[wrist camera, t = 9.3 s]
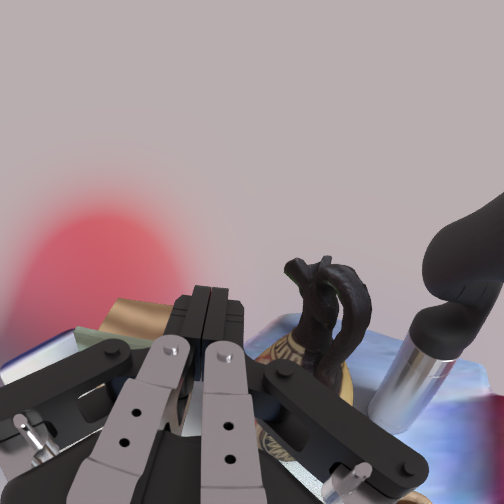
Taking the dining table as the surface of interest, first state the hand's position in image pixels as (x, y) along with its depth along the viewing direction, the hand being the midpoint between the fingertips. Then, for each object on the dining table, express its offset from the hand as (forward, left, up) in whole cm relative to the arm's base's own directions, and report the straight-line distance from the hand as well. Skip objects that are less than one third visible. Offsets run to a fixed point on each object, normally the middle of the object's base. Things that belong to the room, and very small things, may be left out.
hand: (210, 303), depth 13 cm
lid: (-10, -22, -22) cm, 32 cm away
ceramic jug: (-15, +2, -32) cm, 36 cm away
